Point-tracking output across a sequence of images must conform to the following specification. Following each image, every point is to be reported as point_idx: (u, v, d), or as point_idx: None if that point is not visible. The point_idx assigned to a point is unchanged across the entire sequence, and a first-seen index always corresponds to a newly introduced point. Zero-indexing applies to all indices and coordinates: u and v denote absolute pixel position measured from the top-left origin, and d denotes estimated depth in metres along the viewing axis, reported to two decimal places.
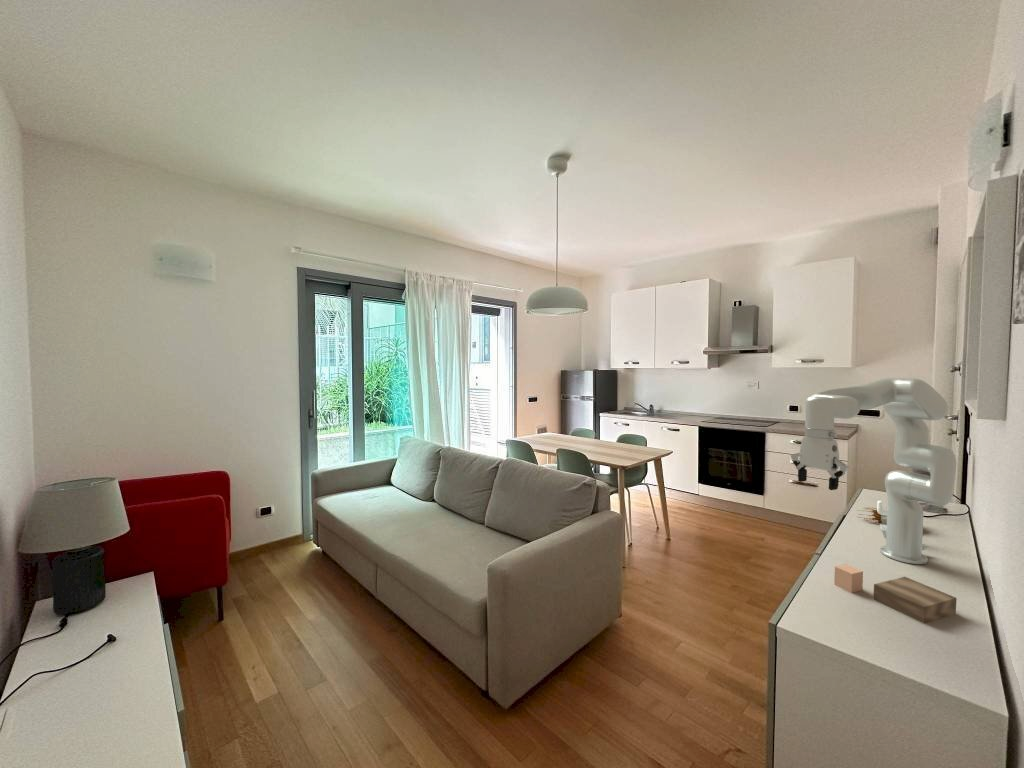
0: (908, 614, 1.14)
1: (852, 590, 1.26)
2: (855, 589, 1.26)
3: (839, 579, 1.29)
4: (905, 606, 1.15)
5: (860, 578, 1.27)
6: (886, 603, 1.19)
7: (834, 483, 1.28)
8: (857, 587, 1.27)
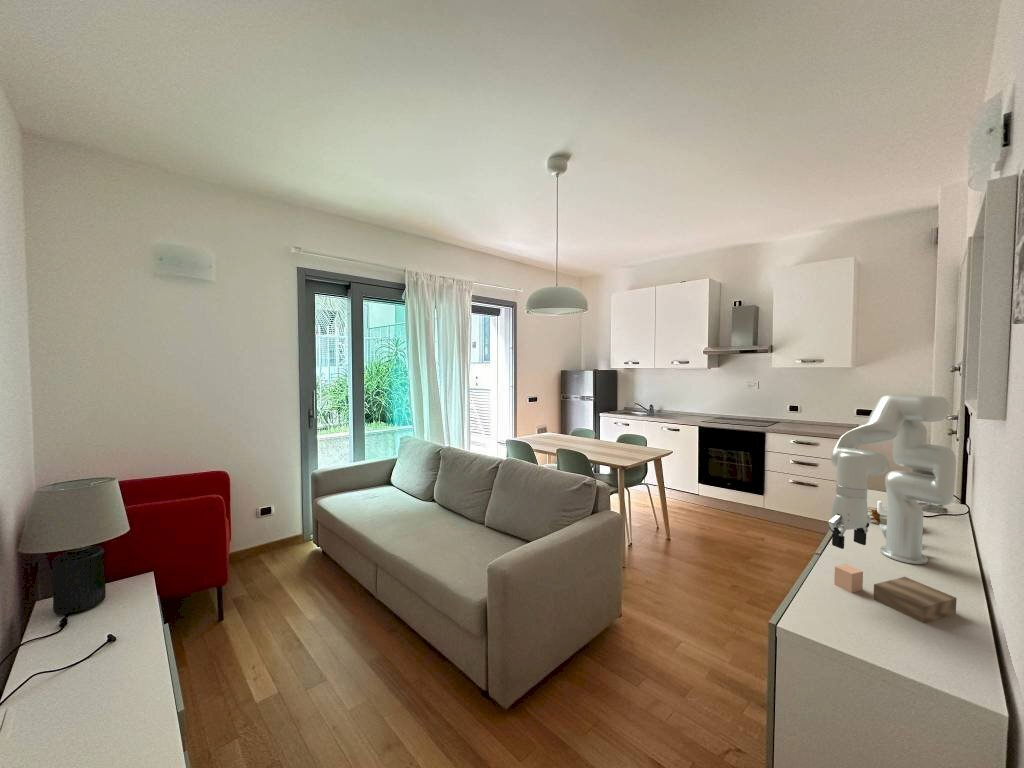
0: (908, 614, 1.14)
1: (852, 590, 1.26)
2: (855, 589, 1.26)
3: (839, 579, 1.29)
4: (905, 606, 1.15)
5: (860, 578, 1.27)
6: (886, 603, 1.19)
7: None
8: (857, 587, 1.27)
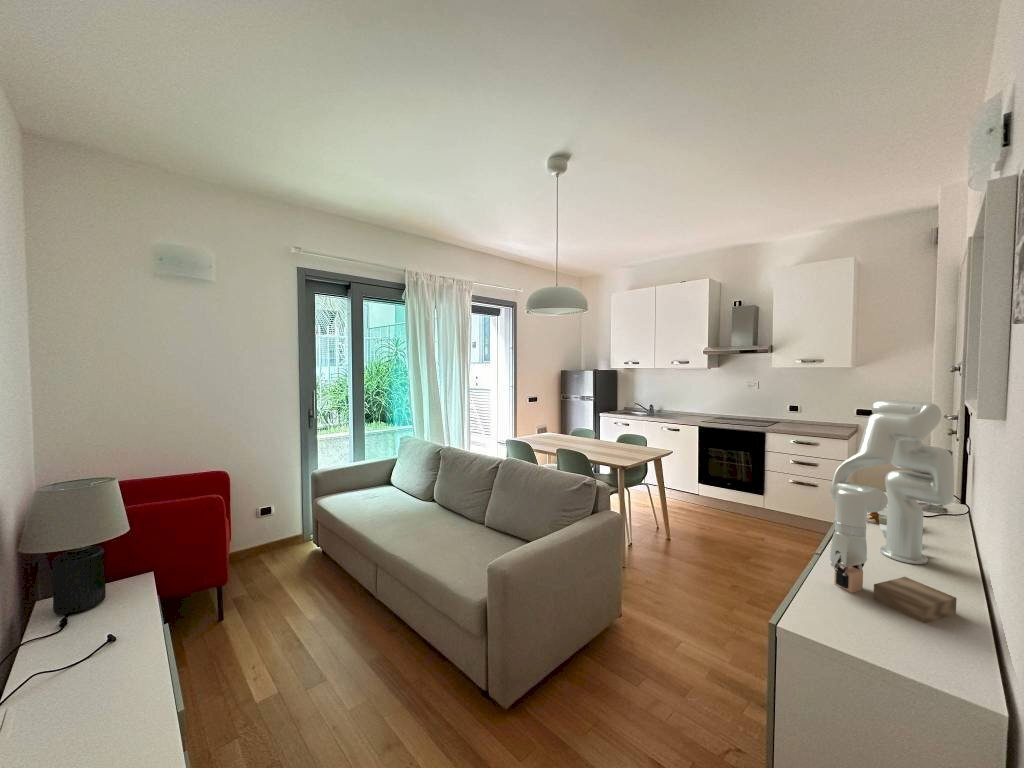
0: (908, 614, 1.14)
1: (852, 590, 1.26)
2: (855, 589, 1.26)
3: None
4: (905, 606, 1.15)
5: (860, 578, 1.27)
6: (886, 603, 1.19)
7: None
8: (857, 587, 1.27)
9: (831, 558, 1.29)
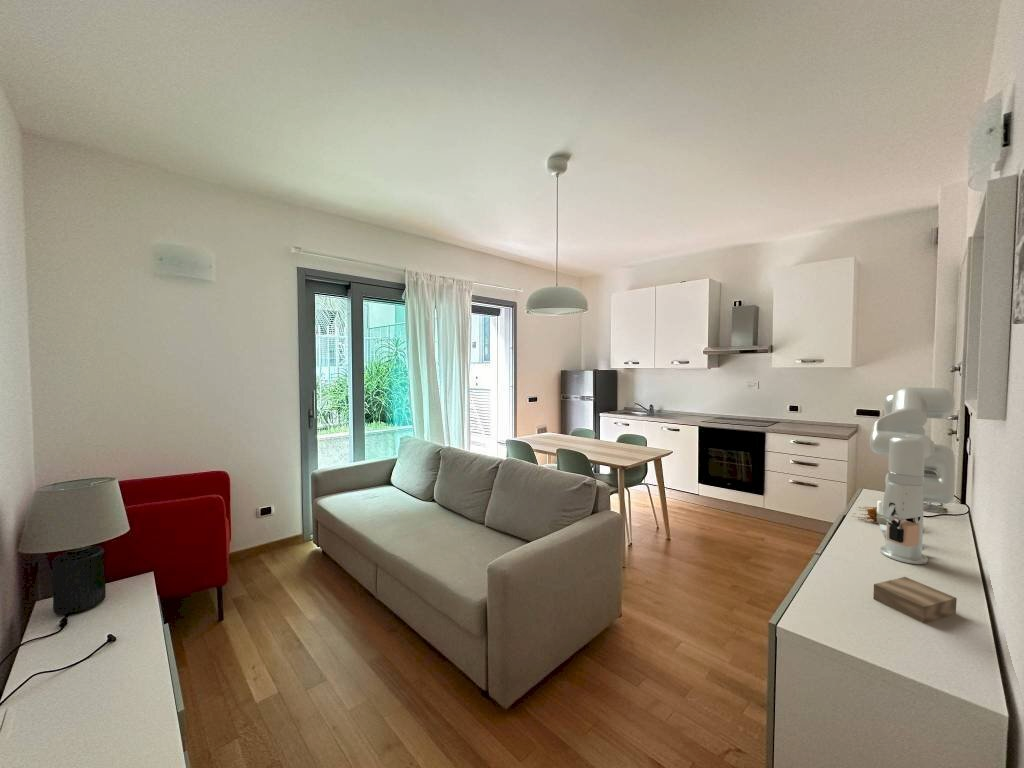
0: (908, 614, 1.14)
1: (908, 544, 1.17)
2: (911, 543, 1.17)
3: None
4: (905, 606, 1.15)
5: (916, 532, 1.18)
6: (886, 603, 1.19)
7: None
8: (913, 541, 1.17)
9: (884, 511, 1.20)
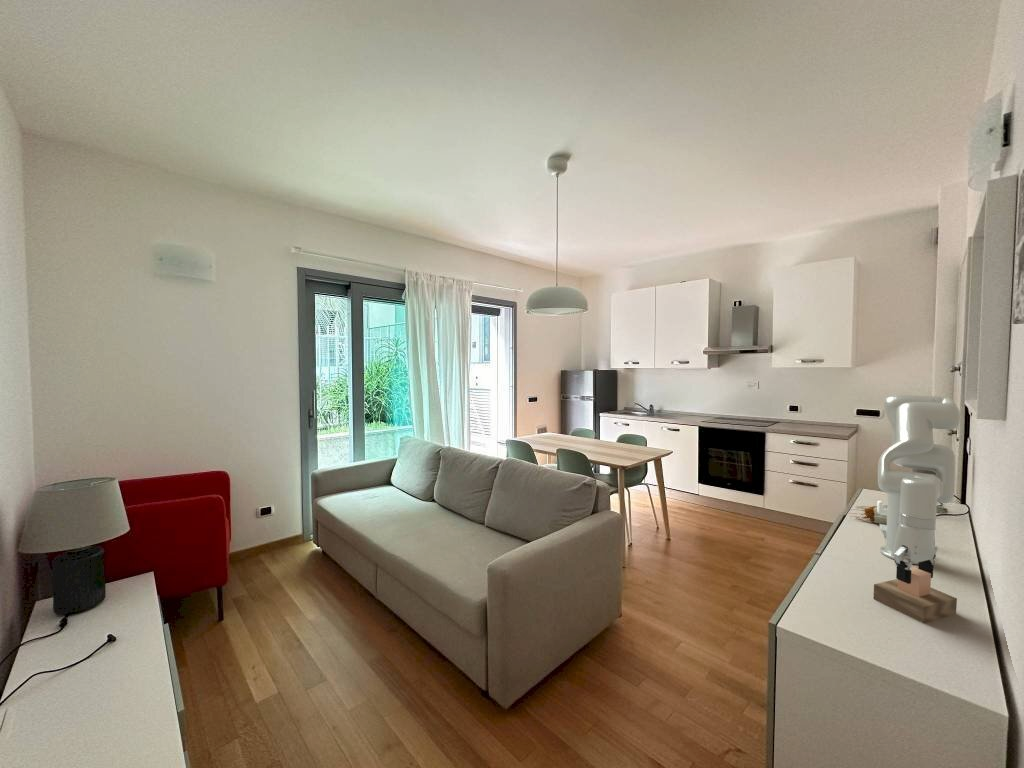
0: (908, 614, 1.14)
1: (920, 594, 1.16)
2: (923, 593, 1.16)
3: (904, 582, 1.19)
4: (905, 607, 1.15)
5: (928, 581, 1.16)
6: (886, 603, 1.19)
7: None
8: (925, 591, 1.16)
9: None
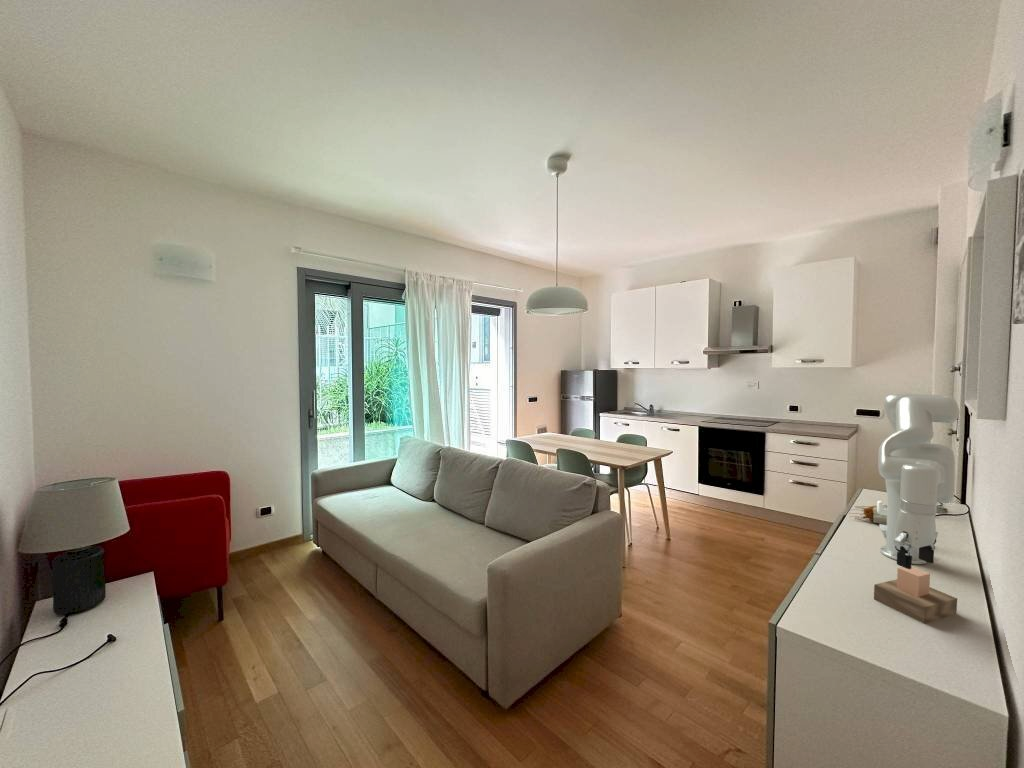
0: (909, 614, 1.14)
1: (919, 594, 1.16)
2: (922, 593, 1.16)
3: (903, 582, 1.19)
4: (905, 607, 1.15)
5: (927, 581, 1.17)
6: (886, 603, 1.19)
7: None
8: (924, 591, 1.16)
9: None
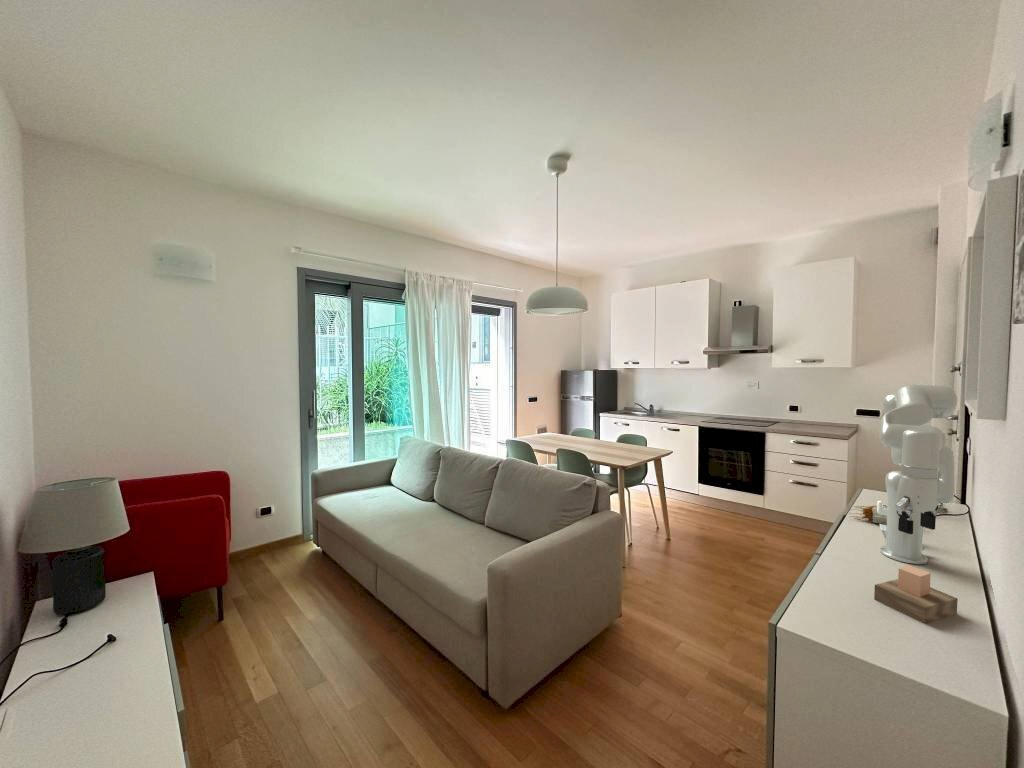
0: (909, 614, 1.14)
1: (921, 594, 1.16)
2: (923, 593, 1.16)
3: (904, 582, 1.19)
4: (906, 607, 1.15)
5: (928, 581, 1.17)
6: (887, 604, 1.19)
7: None
8: (925, 591, 1.16)
9: None
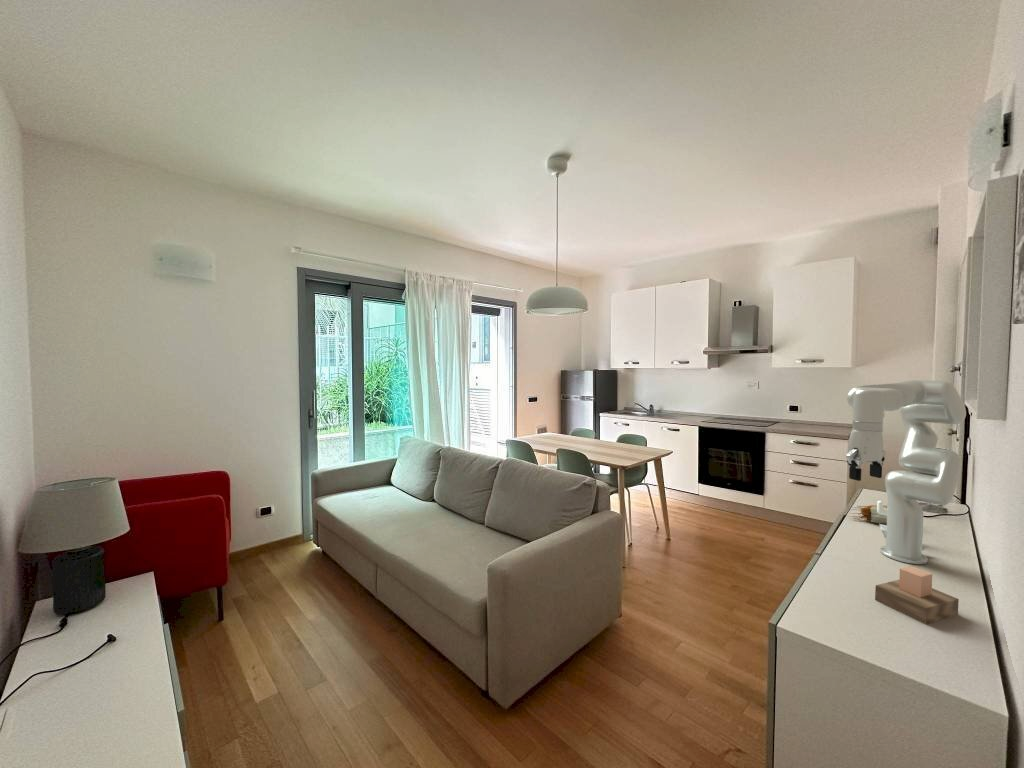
0: (910, 615, 1.14)
1: (921, 595, 1.15)
2: (924, 593, 1.16)
3: (905, 582, 1.18)
4: (907, 608, 1.14)
5: (929, 581, 1.16)
6: (888, 604, 1.19)
7: None
8: (926, 591, 1.16)
9: None
